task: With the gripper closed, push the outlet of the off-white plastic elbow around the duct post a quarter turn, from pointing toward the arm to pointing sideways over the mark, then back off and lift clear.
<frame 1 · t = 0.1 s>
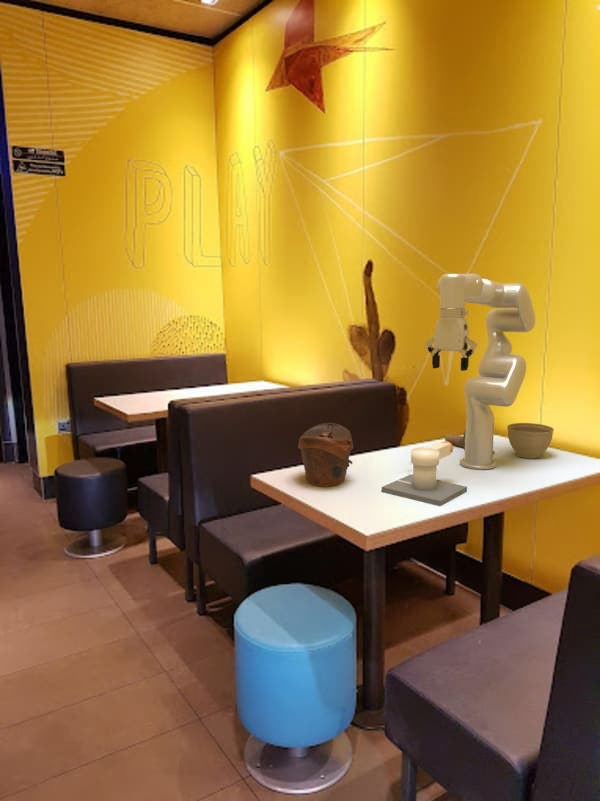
hand: (449, 369, 187), 37 cm above the table, tool pointing down, fingers open, 9 cm apart
brown domed pot: (325, 481, 195), on the table
planter bowl: (528, 456, 223), on the table
pipe: (461, 447, 237), on the table
elbow: (433, 453, 185), point 11 cm above the table, hinge at 0.0°
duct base: (424, 491, 183), on the table
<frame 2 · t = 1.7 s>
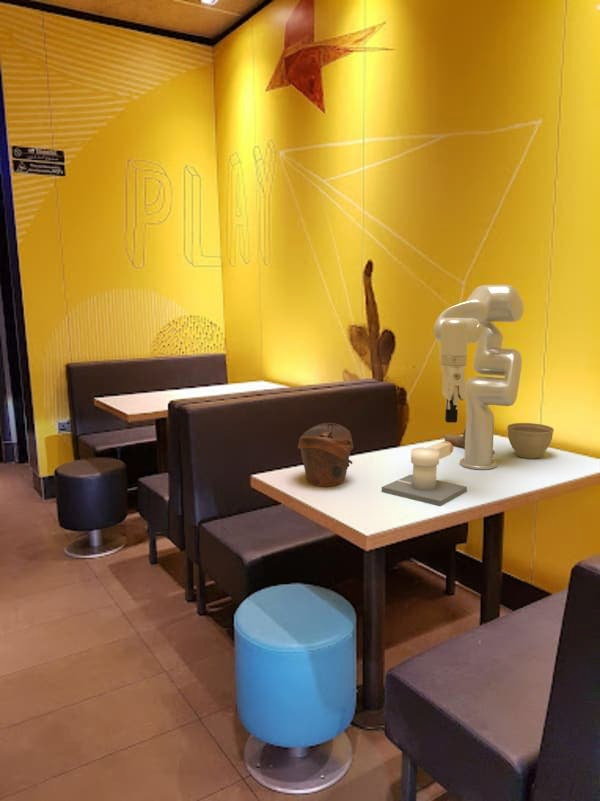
hand: (451, 421, 179), 22 cm above the table, tool pointing down, fingers closed
nothing on the table moved.
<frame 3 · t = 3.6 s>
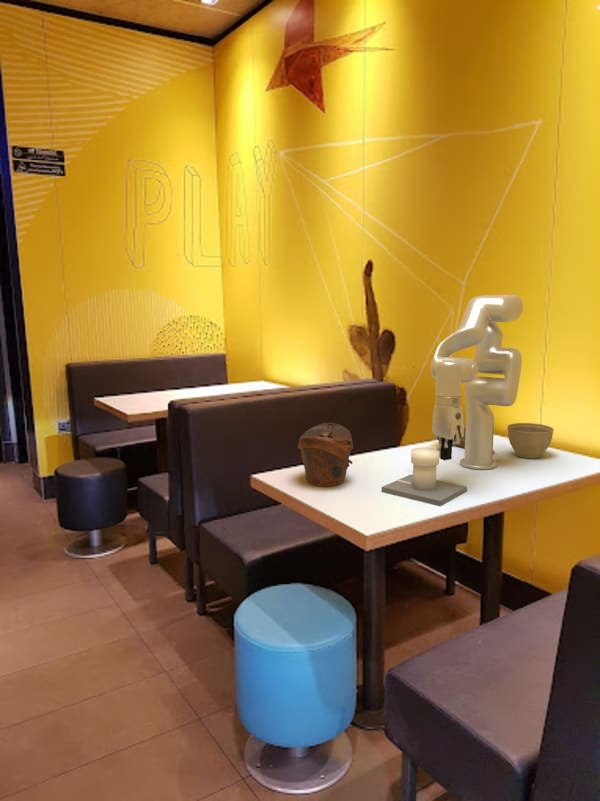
hand: (445, 459, 184), 10 cm above the table, tool pointing down, fingers closed
elbow: (431, 453, 185), point 11 cm above the table, hinge at 5.4°, touching gripper
everything else where it was.
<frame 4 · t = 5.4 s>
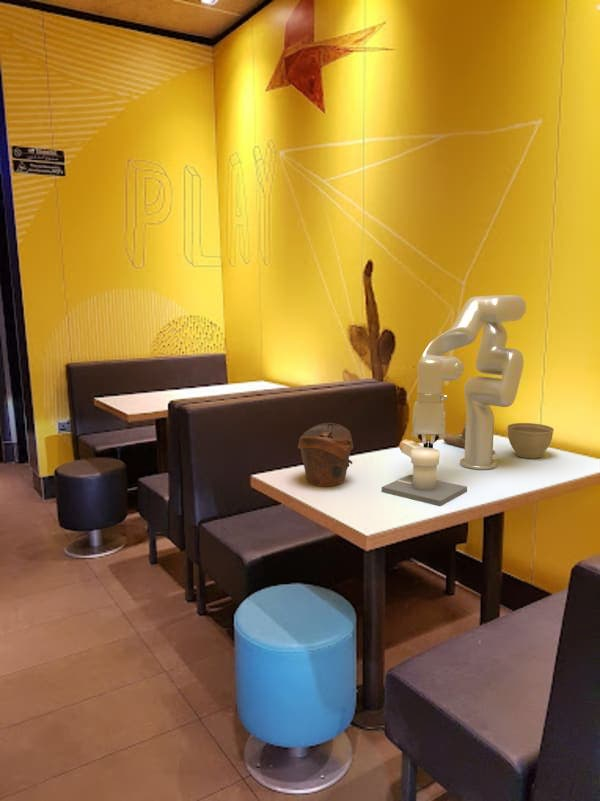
hand: (428, 455, 189), 10 cm above the table, tool pointing down, fingers closed
elbow: (417, 452, 186), point 11 cm above the table, hinge at 56.3°, touching gripper
everything else where it was.
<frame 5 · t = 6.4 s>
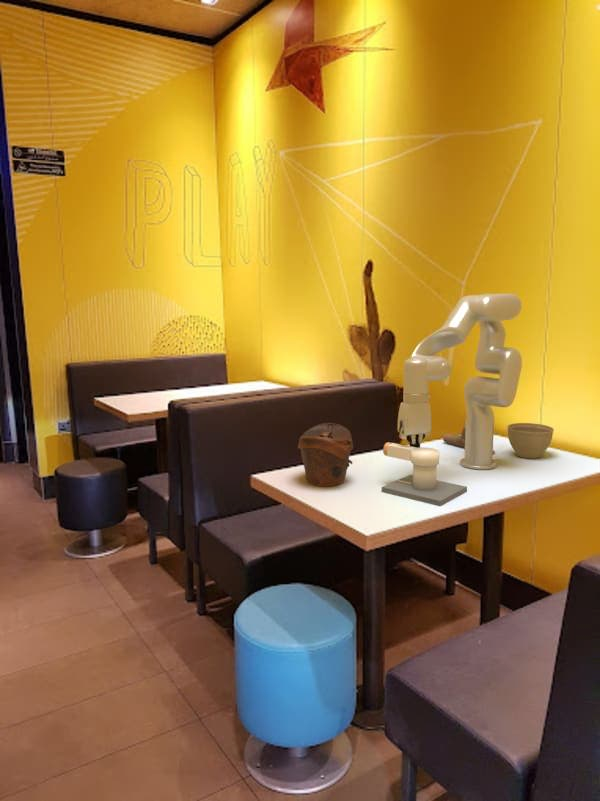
hand: (414, 455, 189), 10 cm above the table, tool pointing down, fingers closed
elbow: (411, 453, 185), point 11 cm above the table, hinge at 88.2°, touching gripper
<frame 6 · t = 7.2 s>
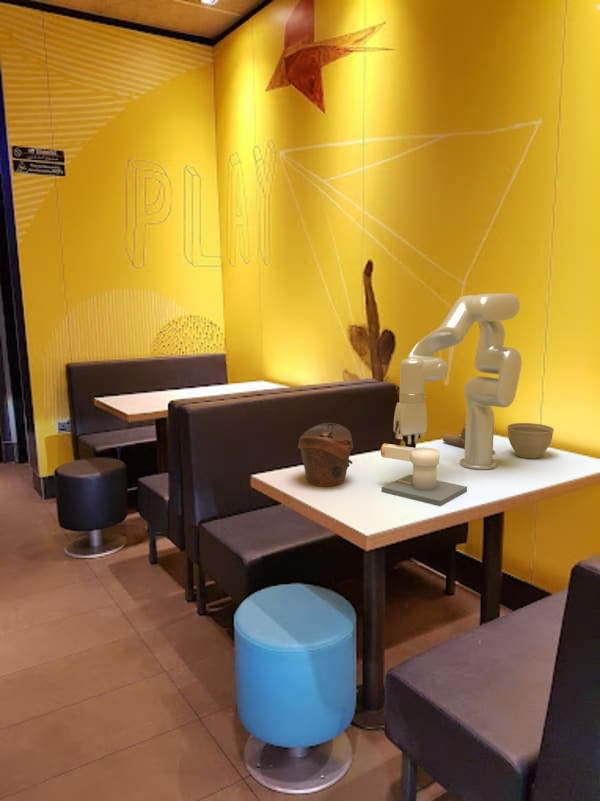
hand: (410, 455, 189), 10 cm above the table, tool pointing down, fingers closed
elbow: (410, 454, 184), point 11 cm above the table, hinge at 96.4°
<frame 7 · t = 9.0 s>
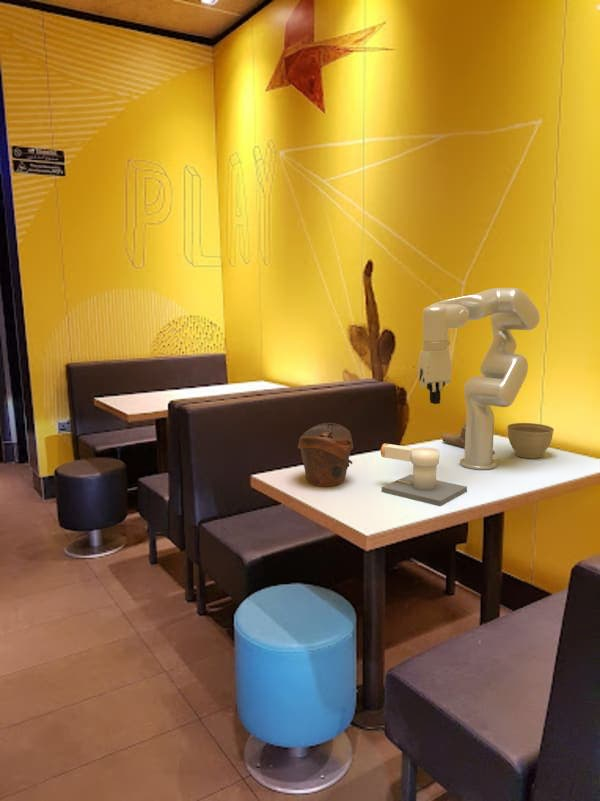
hand: (435, 403, 190), 26 cm above the table, tool pointing down, fingers closed
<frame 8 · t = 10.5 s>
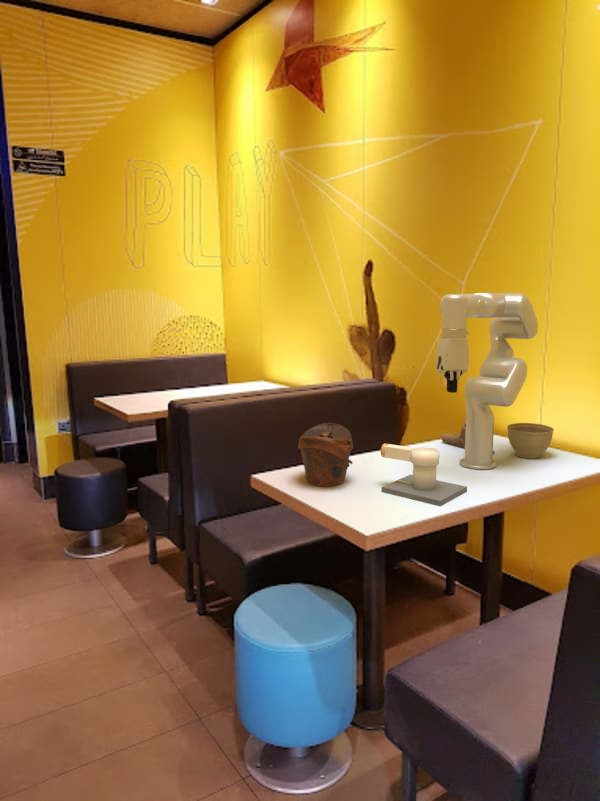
hand: (451, 391, 190), 29 cm above the table, tool pointing down, fingers closed
at the end: elbow at +96° (first picture: +0°); the gripper is holding nothing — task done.
